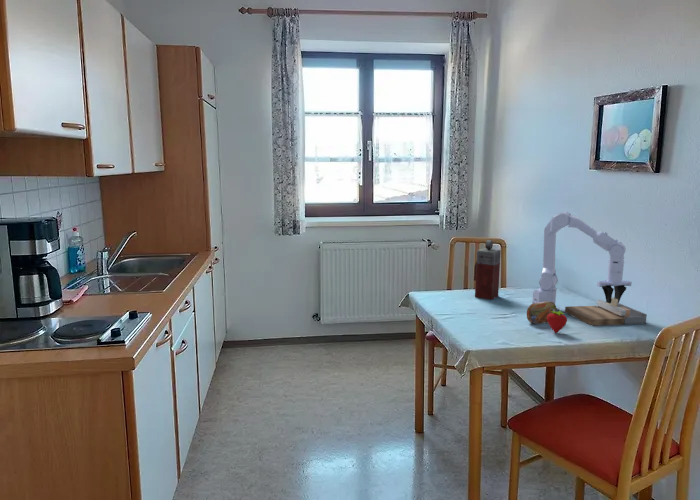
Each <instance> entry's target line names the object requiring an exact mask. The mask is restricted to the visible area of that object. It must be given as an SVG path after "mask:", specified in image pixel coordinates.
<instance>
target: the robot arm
mask: <svg viewBox="0 0 700 500" xmlns="http://www.w3.org/2000/svg"><path fill="white" fill-rule="evenodd" d="M565 227H568V228H573V229H575V228H576V229H578V230H579V231H581V232H582V233H583V234H585V235H587V236H588V237H590V238H592V242H593V243H594V244H596V245H597V246H598V247H600V248H601V249H602V250H604V251H605V252H608V254H609V259H608V266H607V267H608V268H607V279H606V280H599V281H597V282H596V286H597V287H599V288H602V290H603V294H604V297H605V302H607V303H611V298H612V297H613V293H614V297H613V298H616V299H618V303H620V300H621V298H622V296H623V295H624V293H625V292H626V290H627V286H628V287H632V281H630V280H623V278H624V277H623V275H624V264H625V252H626V246H625V245H624V244H623V243H622V242H621V241H620V242H619V240H618V239H614V238H613V237H611V236H610V235H609V233H608V232H607V231H606V232H604V231H597V230H596V229H594V228H593V227H591V226H590V225H589V224H587V223H586V222H584V221H583V220H581V218H579V217H577V216H576V215H574V214H572V213H570V212H568V211H561V212H559V213H557V214H555V215H554V216H552V217H551V219H550V220H549V222H548V223H547V224H546V226H545V227H544V229H543V232H544V233H543V257H542V258H543V260H542V261H543V263H542V271H541V275H540V279H539V281H538V284H539V288H537V289H534V290H533V292H532V303H531V304H534V303H540V302H545V301H548V302H553V303H554V304H555V305H556V300H557V299H556V298H557V287H556V285H557V284H558V281H559V279H558V277H557V276H558V275H557V274H556V240H557V239H556V238H557V233H558V232H559V231H560V230H562V229H563V228H565ZM556 308H557V311H560V308H559V307H556Z"/></svg>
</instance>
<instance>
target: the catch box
mask: <svg viewBox="0 0 700 500" xmlns="http://www.w3.org/2000/svg"><path fill="white" fill-rule="evenodd" d="M596 306H597V305H596ZM597 307H600V306H597ZM617 307H625V308H627V309H630V317H626V318H624V325H647V316H648V314H646V313H644V312H642V311H639V310H637V309H634V308H632V307H630V306H627V305H625V304H622V303H620V302H619V303H617ZM600 308H602V307H600ZM602 309H604V308H602ZM604 310H605V309H604ZM606 311H607V310H606ZM615 315H616V314H615Z"/></svg>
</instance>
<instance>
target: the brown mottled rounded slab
mask: <svg viewBox="0 0 700 500" xmlns="http://www.w3.org/2000/svg"><path fill="white" fill-rule="evenodd" d="M557 308H558V307H557V305H556V303H555V304H554V303H553V302H548V301H545V302H540V303H534V304H532V303H531V304H530V305H529V306H528V307H527V309H526V319H527V321H528V322H529V323H530V324H535V325H539V324H545V323H548V321H547V315H548V314H550V313H553V312H550V311H556V312H558V310H557Z"/></svg>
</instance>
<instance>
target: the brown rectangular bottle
mask: <svg viewBox="0 0 700 500" xmlns="http://www.w3.org/2000/svg"><path fill="white" fill-rule="evenodd" d="M493 246H494V242H493V240H489V239H487V240H486V242H485V247H484V248H480V249H478V250H477V251H476V261H475V264H474V269H473V281H475V286H474V287H475V288H474V298H477V299H485V300H491V301H492V300H494V299H497V298H498V297H499V288H500V287H499V286H500V272H501V271H500V270H501V269H500V268H501V254H502V253H501V250H500V248H499V249H496V248H493Z"/></svg>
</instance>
